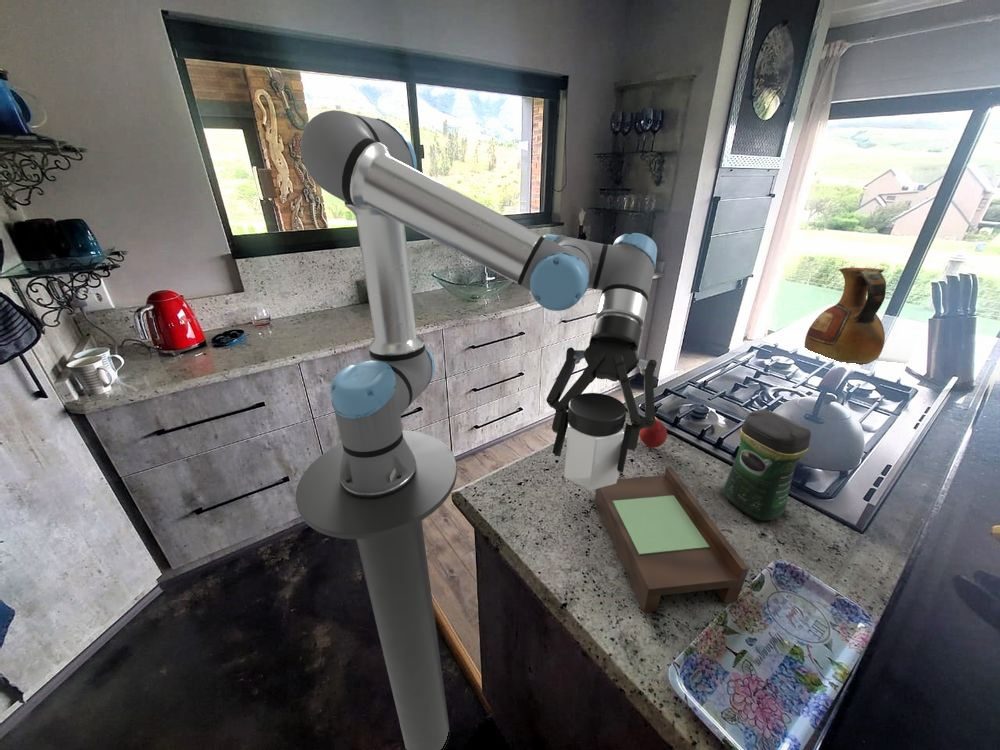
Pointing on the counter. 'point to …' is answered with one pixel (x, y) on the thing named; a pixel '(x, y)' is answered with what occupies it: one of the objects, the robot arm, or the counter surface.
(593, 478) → the jar
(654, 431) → the onion
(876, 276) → the ceramic pitcher
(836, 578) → the counter surface
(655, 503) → the shelf
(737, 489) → the coffee jar
